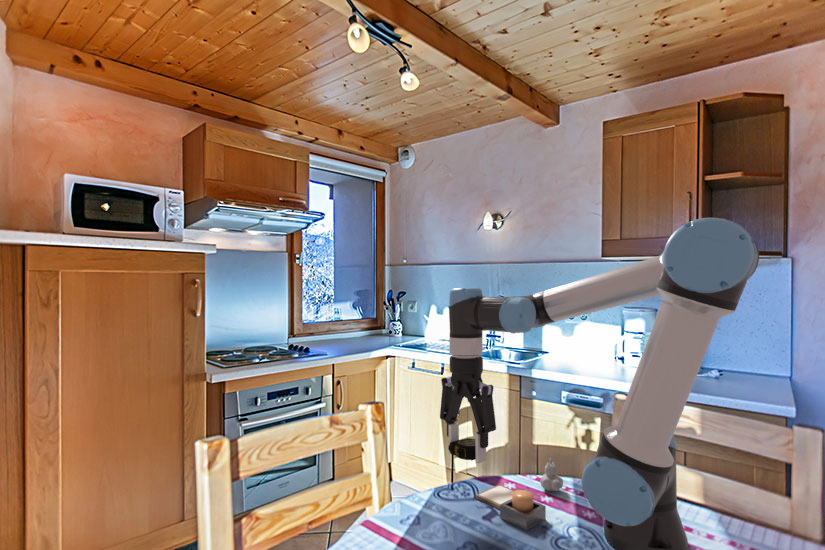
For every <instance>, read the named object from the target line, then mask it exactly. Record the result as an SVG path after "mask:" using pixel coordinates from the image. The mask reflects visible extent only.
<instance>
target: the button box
mask: <svg viewBox="0 0 825 550" xmlns="http://www.w3.org/2000/svg"><path fill="white" fill-rule="evenodd" d="M499 511H500V512H499V517H500V519H502V520H503V521H505V522H507V523H510V524H512V525H514V526H516V527H518V528H520V529H522V530H524V531H529V530H530V529H532V528H534V527H535V526H537V525H539V524H541V523H543V522H544V521H546V511H547V510H546V505H544V504H542V503H539V502H537V501H534V500H533V510H532V511H530V512H528V513H526V514H525V513H523V512H521V511H518V510H516V509H514V508H512V499H510V500H508V501H506V502H504V503H502V504H500V509H499Z"/></svg>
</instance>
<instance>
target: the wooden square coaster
mask: <svg viewBox="0 0 825 550" xmlns="http://www.w3.org/2000/svg"><path fill="white" fill-rule="evenodd" d="M514 491H515V490H514V489H512V488H509V487H506V486H504V485H502V484H497V485H495V486H492V487H490V488H488V489H485V490H483V491H481V492H478V493H477V494H475V495H474V496H475V498H474V499H476V500H479V501H480V502H482V503H485V504H486V505H487V504H488V505H489V506H491V507H494V508H495V509H497V510H500V504H502V503H504V502H506V501H508V500H510V499H512V493H513V492H514Z"/></svg>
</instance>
